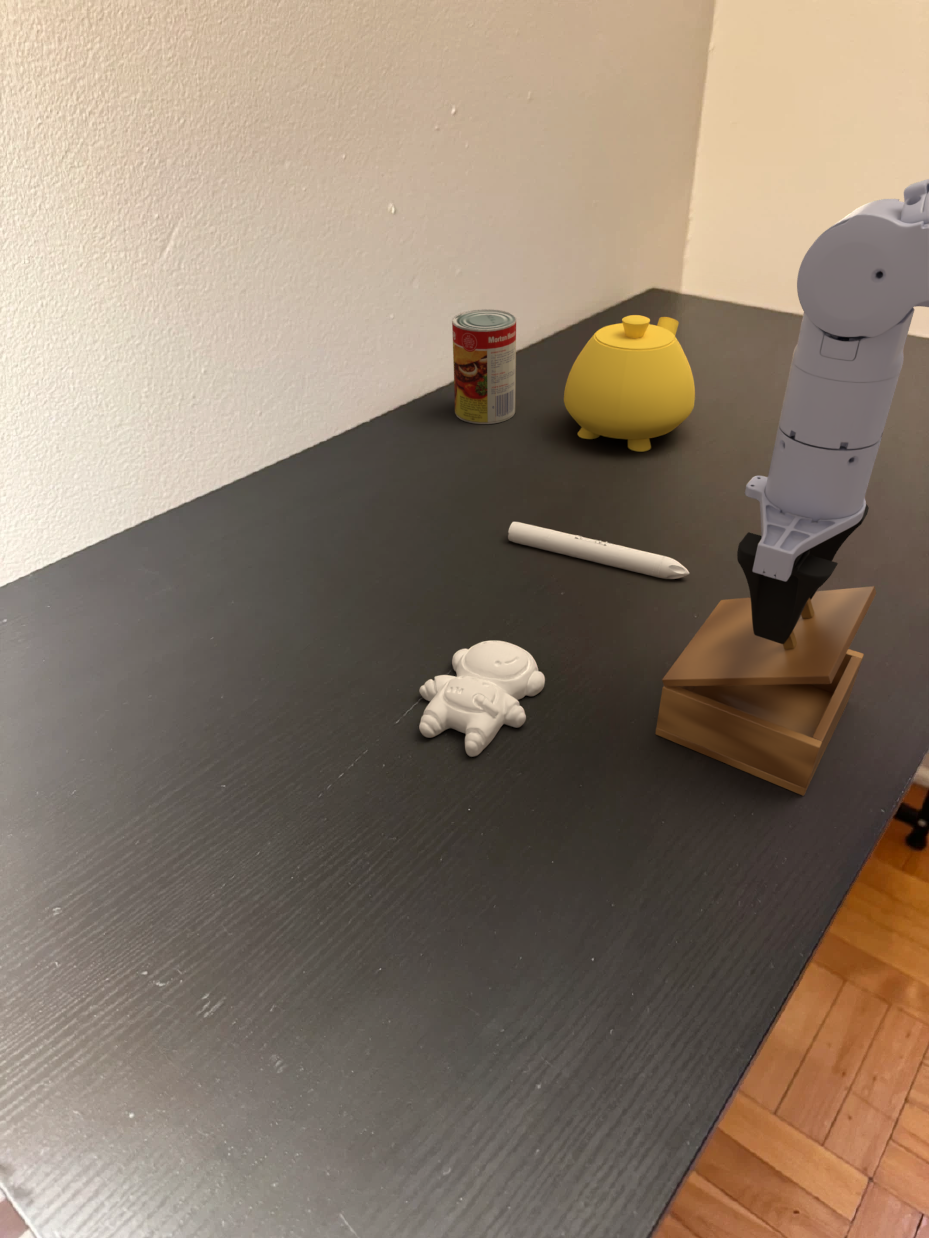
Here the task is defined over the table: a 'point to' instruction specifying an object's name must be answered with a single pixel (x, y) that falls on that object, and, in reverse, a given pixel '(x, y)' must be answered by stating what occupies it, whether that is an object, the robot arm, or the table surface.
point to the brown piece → (772, 644)
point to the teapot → (631, 382)
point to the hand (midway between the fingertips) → (783, 615)
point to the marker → (596, 551)
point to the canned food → (484, 365)
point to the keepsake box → (760, 723)
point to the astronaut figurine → (481, 693)
